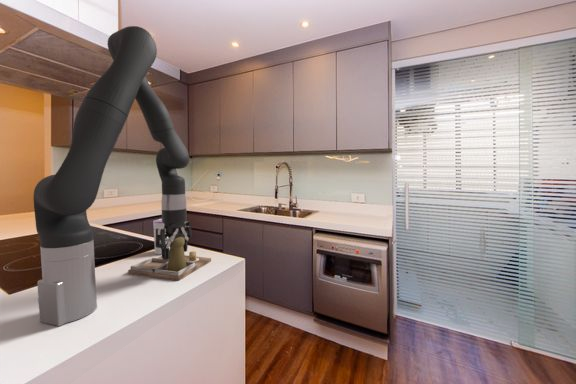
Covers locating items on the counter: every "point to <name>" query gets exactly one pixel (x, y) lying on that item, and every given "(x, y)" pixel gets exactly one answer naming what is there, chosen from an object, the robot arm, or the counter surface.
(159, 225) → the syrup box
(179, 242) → the cork
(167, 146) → the robot arm
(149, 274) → the board
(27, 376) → the counter surface
